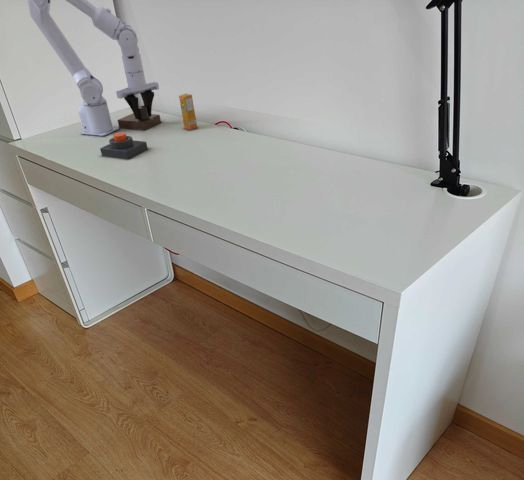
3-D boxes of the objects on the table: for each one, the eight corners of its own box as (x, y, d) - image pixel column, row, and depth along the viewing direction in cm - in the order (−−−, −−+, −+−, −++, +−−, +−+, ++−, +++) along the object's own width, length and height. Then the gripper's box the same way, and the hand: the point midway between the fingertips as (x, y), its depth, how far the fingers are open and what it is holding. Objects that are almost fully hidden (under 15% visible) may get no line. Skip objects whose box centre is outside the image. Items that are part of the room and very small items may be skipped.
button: (112, 142, 144) (110, 135, 143) (120, 138, 146) (118, 132, 145) (121, 143, 142) (120, 136, 141) (129, 139, 145) (128, 132, 144)
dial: (141, 120, 164) (139, 108, 161) (136, 118, 166) (133, 106, 163) (151, 118, 165) (148, 105, 163) (145, 116, 167) (143, 104, 165)
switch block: (101, 156, 146) (98, 141, 143) (121, 146, 152) (118, 132, 149) (128, 159, 142) (125, 144, 139) (147, 149, 148) (144, 135, 145)
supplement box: (183, 128, 162) (177, 95, 156) (191, 126, 164) (186, 93, 157) (189, 130, 160) (184, 96, 154) (197, 128, 162) (193, 94, 155)
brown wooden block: (118, 128, 168) (116, 119, 166) (135, 120, 174) (134, 112, 172) (147, 130, 163) (145, 122, 161) (164, 122, 169) (162, 114, 168)
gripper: (147, 66, 163) (155, 110, 171) (107, 74, 156) (118, 120, 164) (158, 68, 158) (166, 113, 167) (118, 77, 151) (129, 124, 160)
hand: (143, 117), depth 165 cm, fingers closed on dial, 4 cm apart
